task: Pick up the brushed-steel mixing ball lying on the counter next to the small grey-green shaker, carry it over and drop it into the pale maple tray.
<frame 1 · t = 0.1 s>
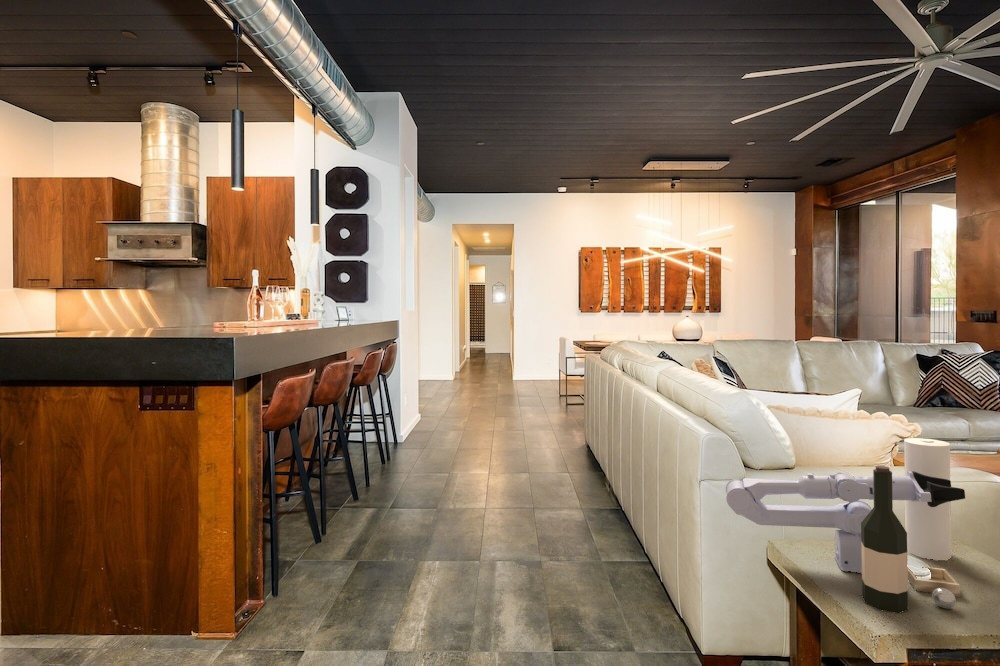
hand: (957, 489, 126), 22 cm above the table, tool horizontal, fingers open, 7 cm apart
shaker: (895, 589, 123), on the table
paper towel roll: (928, 553, 141), on the table
tray: (930, 585, 124), on the table
wine bottle: (884, 603, 117), on the table
ball: (943, 598, 114), point 2 cm above the table
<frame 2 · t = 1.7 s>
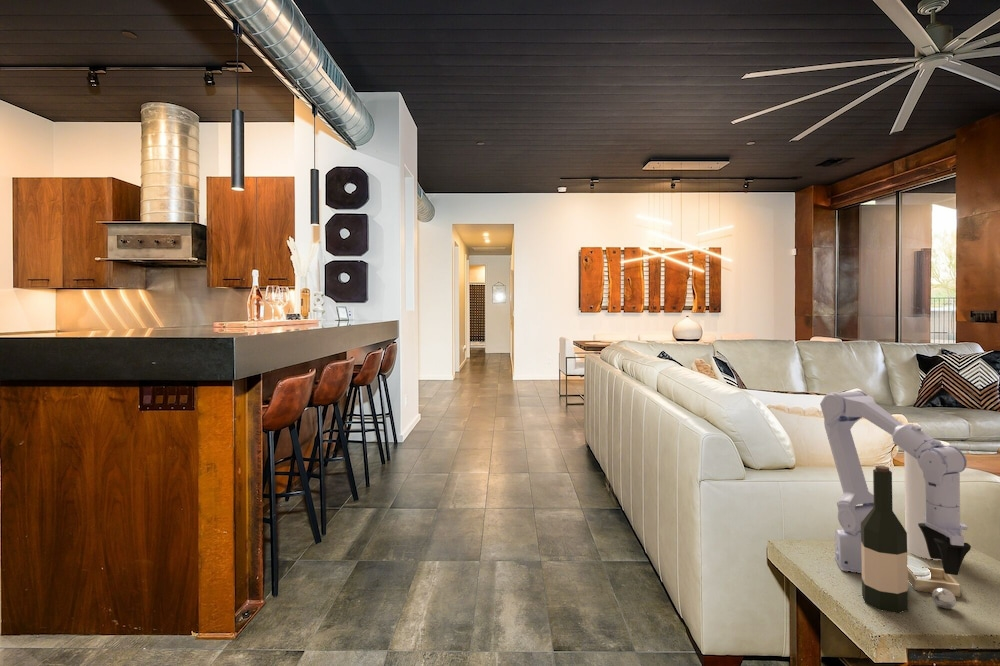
hand: (943, 565, 114), 9 cm above the table, tool pointing down, fingers open, 7 cm apart
nothing on the table moved.
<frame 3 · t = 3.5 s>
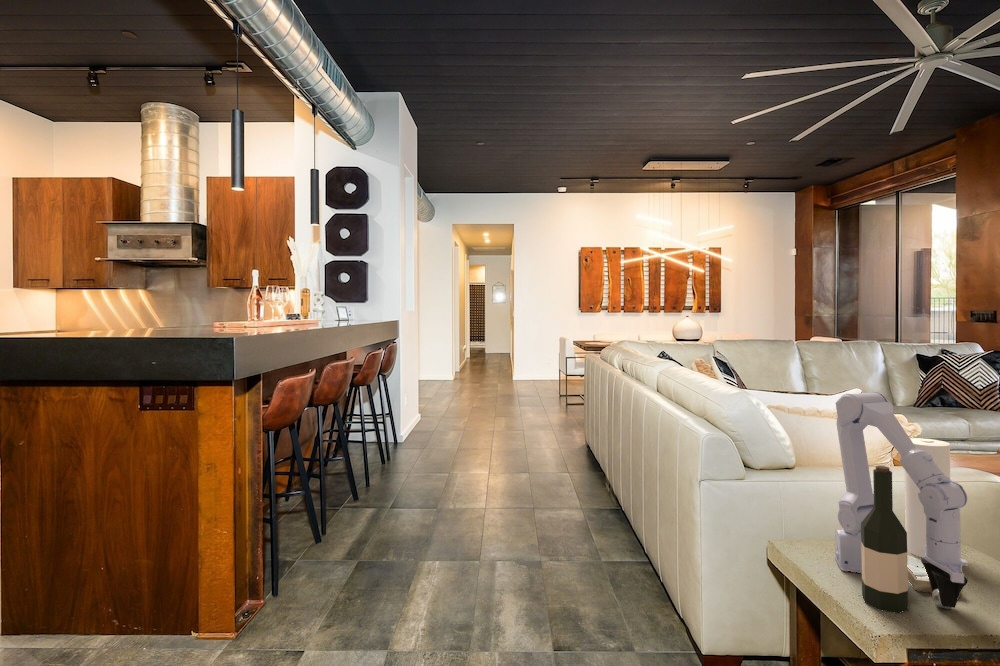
hand: (943, 600, 114), 1 cm above the table, tool pointing down, fingers closed on ball, 4 cm apart
ball: (943, 598, 114), point 2 cm above the table, touching gripper
everything else where it was.
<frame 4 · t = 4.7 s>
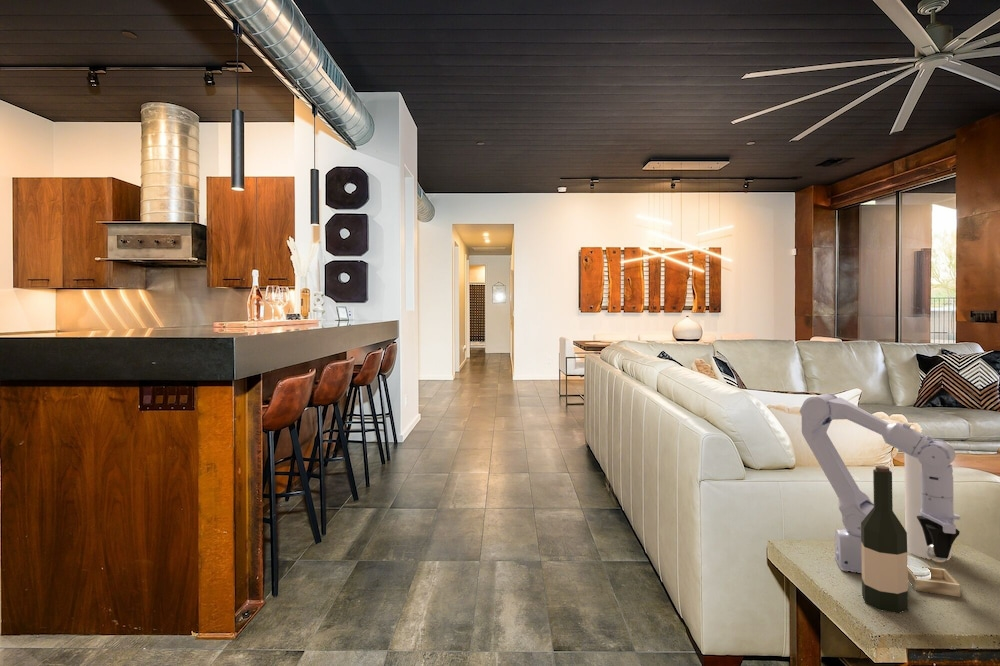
hand: (937, 553, 122), 8 cm above the table, tool pointing down, fingers closed on ball, 4 cm apart
ball: (937, 552, 122), point 8 cm above the table, tilted 12°, touching gripper
everything else where it was.
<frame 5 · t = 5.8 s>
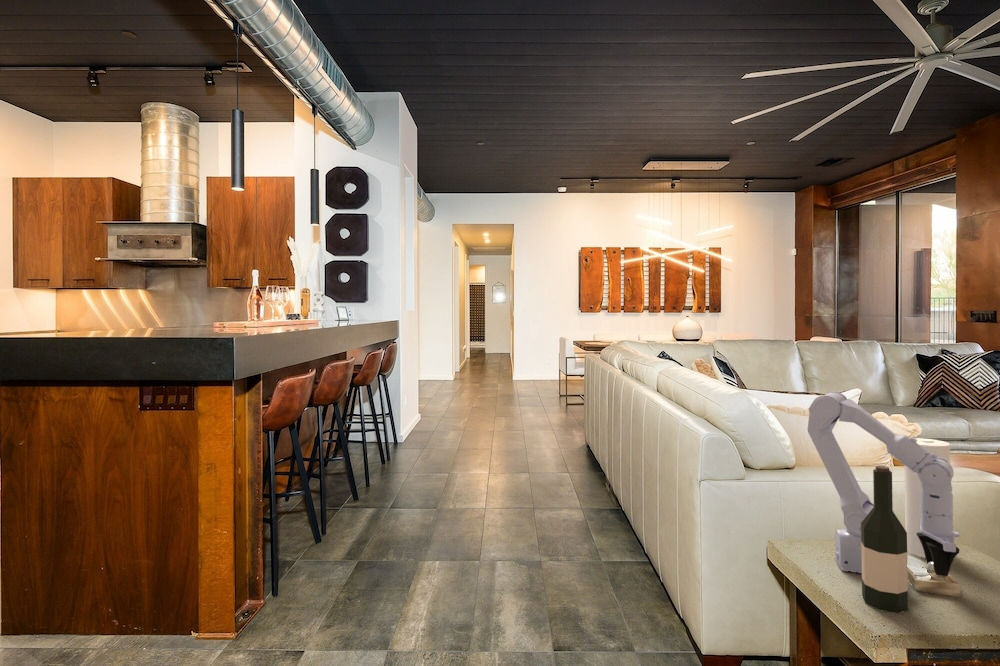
hand: (937, 570, 123), 4 cm above the table, tool pointing down, fingers closed on ball, 4 cm apart
ball: (937, 570, 123), point 4 cm above the table, tilted 13°, touching gripper
everything else where it was.
when the fingers open (4 cm above the table, at t = 6.3 s): ball drops 1 cm, resting on tray.
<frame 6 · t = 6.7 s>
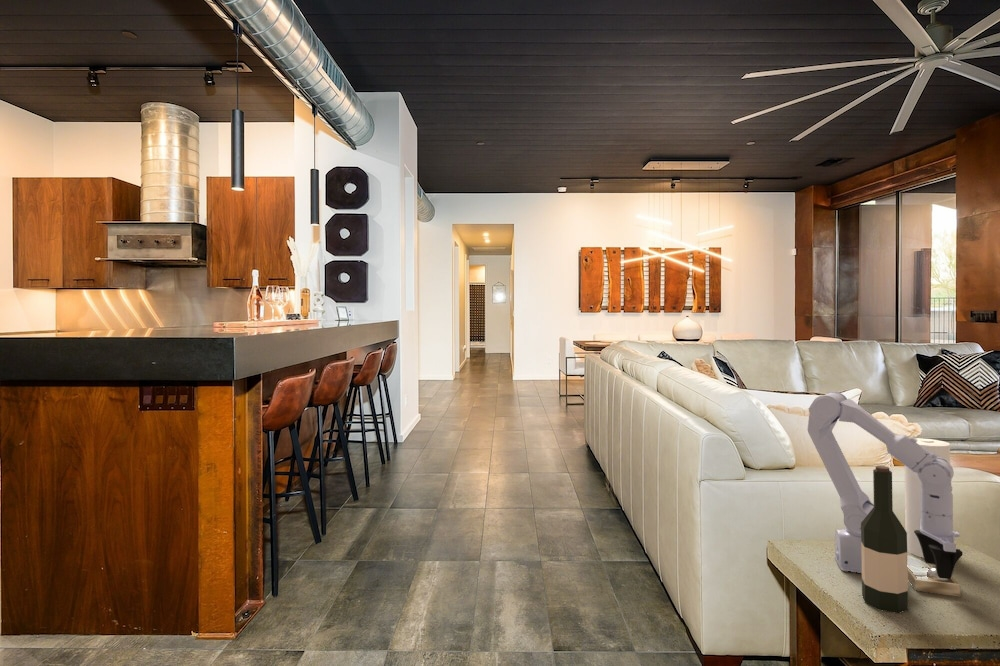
hand: (937, 570, 123), 4 cm above the table, tool pointing down, fingers open, 7 cm apart
ball: (938, 576, 123), point 3 cm above the table, touching tray
everything else where it was.
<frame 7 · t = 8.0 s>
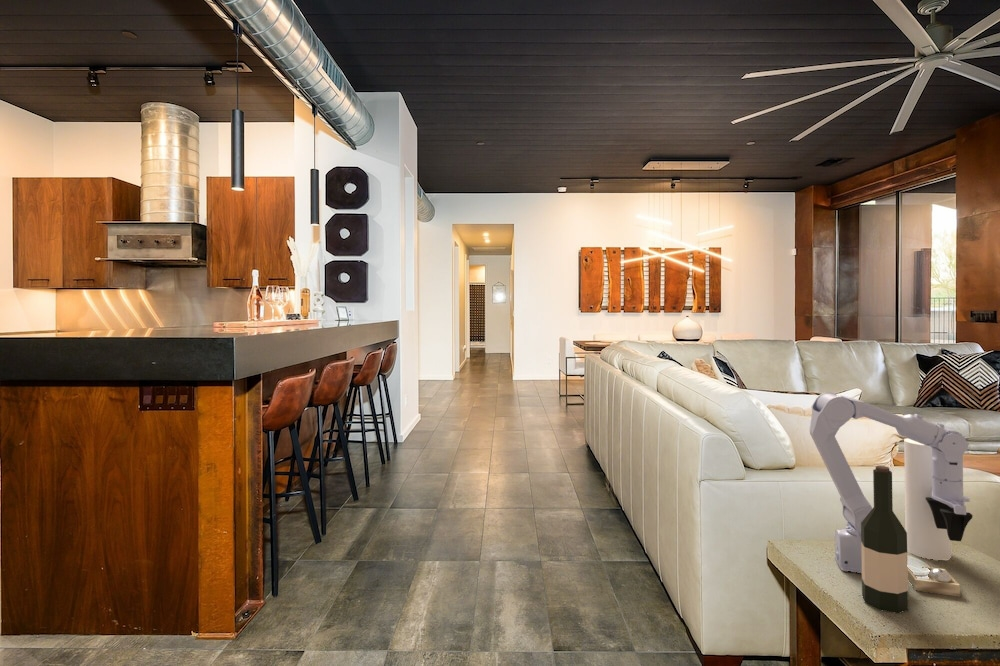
hand: (948, 534, 128), 10 cm above the table, tool pointing down, fingers open, 7 cm apart
ball: (939, 577, 122), point 3 cm above the table, tilted 17°, touching tray
everything else where it was.
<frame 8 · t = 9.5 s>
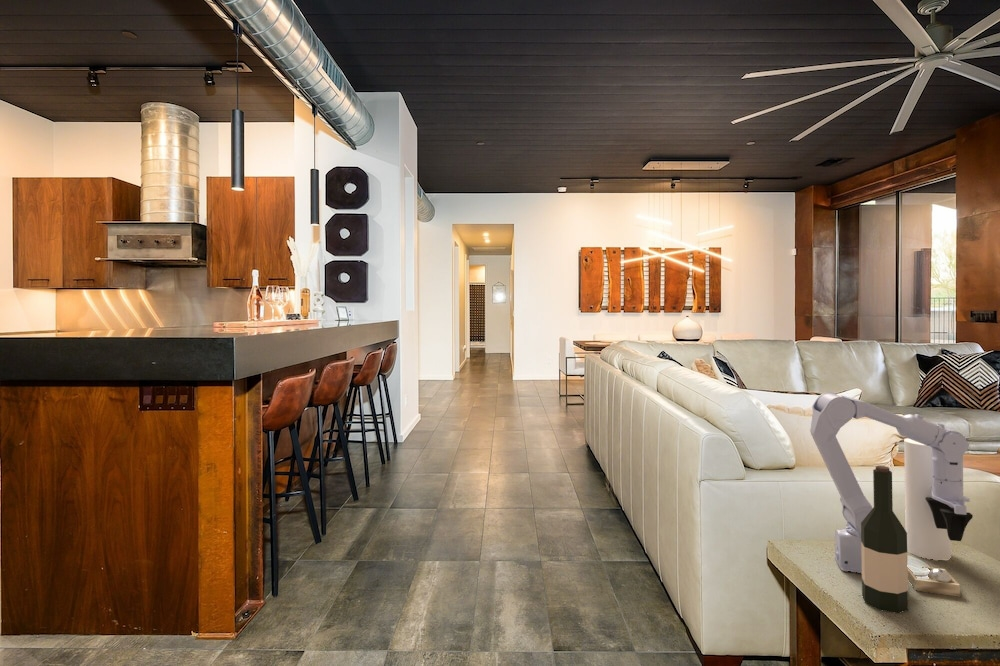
hand: (948, 534, 128), 10 cm above the table, tool pointing down, fingers open, 7 cm apart
nothing on the table moved.
at the end: ball inside the target area on the tray (1.9 cm from its centre), point 2.6 cm above the tray's base; the gripper is holding nothing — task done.
